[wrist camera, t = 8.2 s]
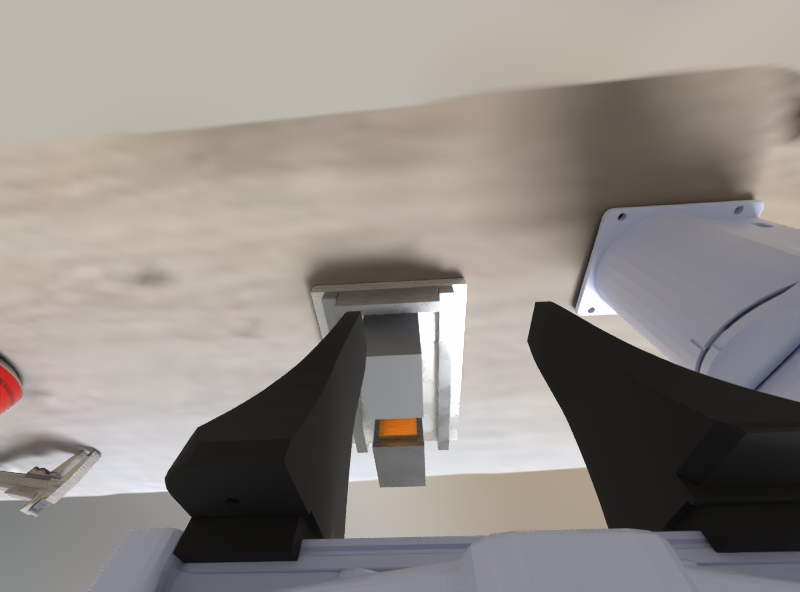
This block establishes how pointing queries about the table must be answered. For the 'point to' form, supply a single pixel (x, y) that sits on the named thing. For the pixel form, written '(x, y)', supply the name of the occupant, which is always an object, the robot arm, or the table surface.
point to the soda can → (9, 387)
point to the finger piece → (393, 367)
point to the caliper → (47, 482)
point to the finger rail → (441, 368)
